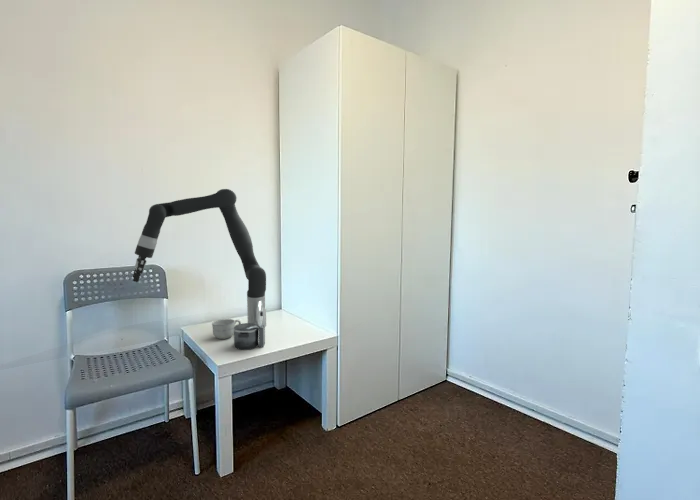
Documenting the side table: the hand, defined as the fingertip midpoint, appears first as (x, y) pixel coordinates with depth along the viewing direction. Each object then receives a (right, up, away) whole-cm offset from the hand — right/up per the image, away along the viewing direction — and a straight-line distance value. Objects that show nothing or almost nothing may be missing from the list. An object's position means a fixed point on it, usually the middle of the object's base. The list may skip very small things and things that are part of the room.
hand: (135, 279), depth 185 cm
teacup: (+37, -30, +16) cm, 50 cm away
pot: (+51, -31, +4) cm, 60 cm away
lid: (+56, -16, +3) cm, 58 cm away
